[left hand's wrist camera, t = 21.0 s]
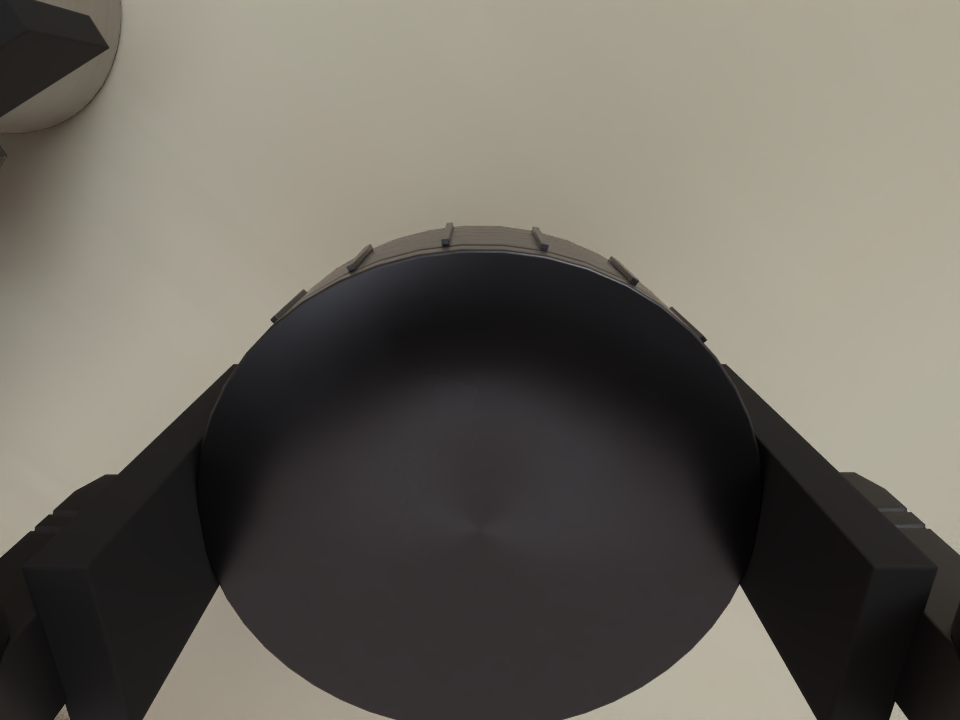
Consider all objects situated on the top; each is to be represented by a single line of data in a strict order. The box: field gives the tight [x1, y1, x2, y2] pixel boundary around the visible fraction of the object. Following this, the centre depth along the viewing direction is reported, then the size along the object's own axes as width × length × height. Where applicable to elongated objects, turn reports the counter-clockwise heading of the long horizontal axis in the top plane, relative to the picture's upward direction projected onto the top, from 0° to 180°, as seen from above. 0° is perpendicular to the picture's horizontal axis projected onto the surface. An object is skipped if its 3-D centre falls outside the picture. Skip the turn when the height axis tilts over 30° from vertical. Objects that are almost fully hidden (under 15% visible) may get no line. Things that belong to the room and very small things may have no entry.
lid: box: [197, 223, 762, 720], centre depth 11 cm, size 9×9×2 cm
